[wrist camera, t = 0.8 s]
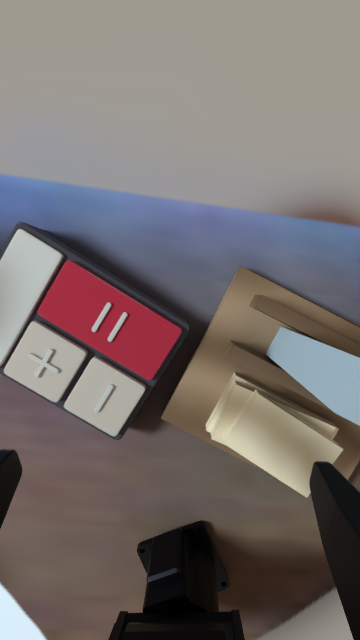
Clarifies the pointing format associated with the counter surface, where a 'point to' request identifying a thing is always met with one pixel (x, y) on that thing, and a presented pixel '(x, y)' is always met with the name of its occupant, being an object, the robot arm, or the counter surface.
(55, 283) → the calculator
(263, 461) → the offcut stack
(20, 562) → the counter surface
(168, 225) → the counter surface
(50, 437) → the counter surface
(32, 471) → the counter surface
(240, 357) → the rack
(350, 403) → the light blue brick
